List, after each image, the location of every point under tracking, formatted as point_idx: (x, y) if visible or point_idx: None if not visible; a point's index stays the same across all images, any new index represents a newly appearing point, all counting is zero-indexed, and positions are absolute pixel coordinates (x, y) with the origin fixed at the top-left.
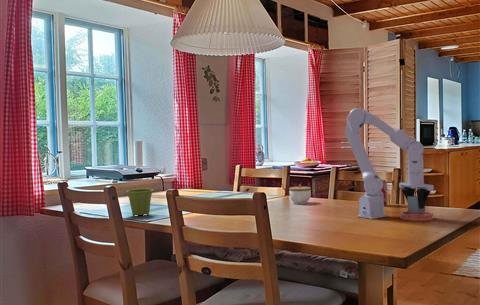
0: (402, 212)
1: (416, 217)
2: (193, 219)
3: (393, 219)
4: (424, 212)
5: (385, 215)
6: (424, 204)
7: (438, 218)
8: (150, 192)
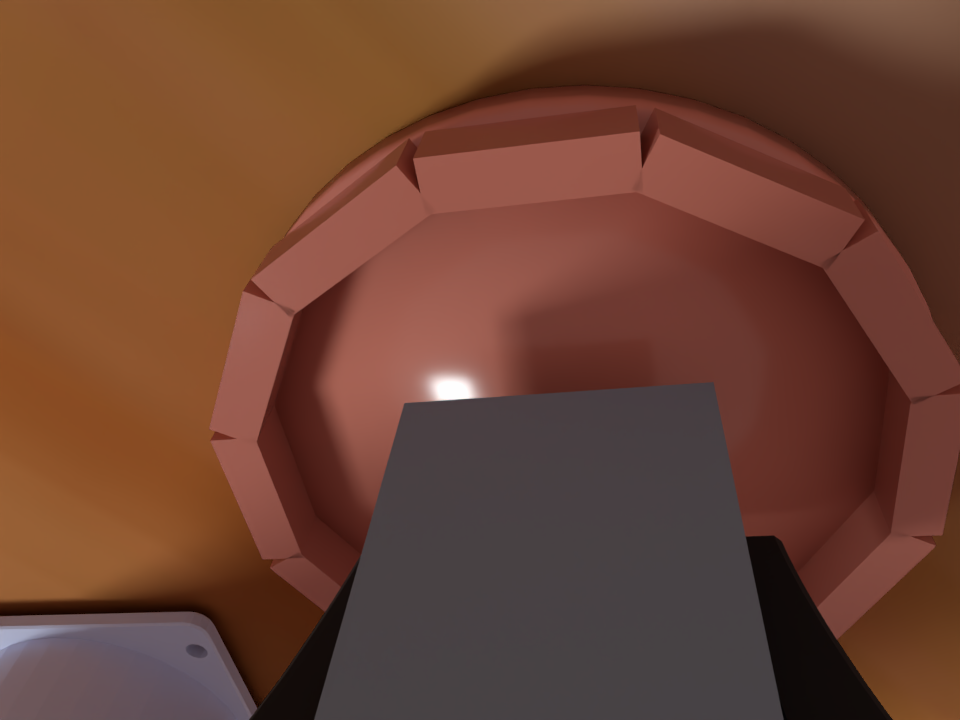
0: None
1: None
2: None
3: None
4: (513, 199)
5: (202, 664)
6: (816, 626)
7: (910, 17)
8: None
